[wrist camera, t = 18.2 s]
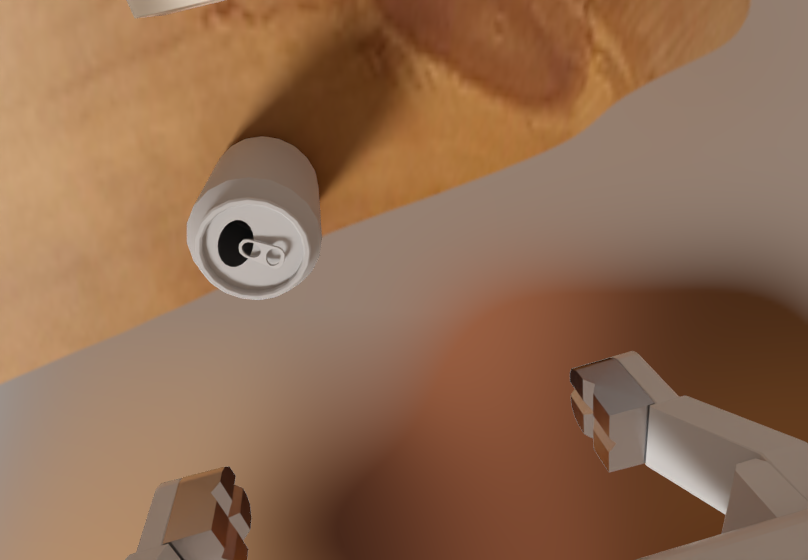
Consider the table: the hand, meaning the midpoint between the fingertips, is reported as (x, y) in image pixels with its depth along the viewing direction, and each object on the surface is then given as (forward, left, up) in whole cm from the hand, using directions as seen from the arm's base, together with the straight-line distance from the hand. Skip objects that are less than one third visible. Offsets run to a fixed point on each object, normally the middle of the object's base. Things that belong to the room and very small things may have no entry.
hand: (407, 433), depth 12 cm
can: (-6, -2, -29) cm, 30 cm away
